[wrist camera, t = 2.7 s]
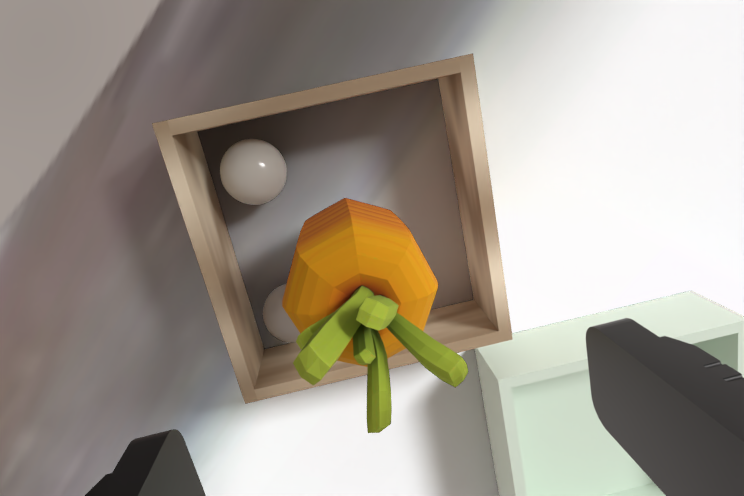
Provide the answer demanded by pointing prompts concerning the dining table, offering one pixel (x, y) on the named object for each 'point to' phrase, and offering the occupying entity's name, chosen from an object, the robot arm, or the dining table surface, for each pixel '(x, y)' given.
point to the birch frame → (220, 267)
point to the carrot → (363, 301)
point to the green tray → (581, 398)
